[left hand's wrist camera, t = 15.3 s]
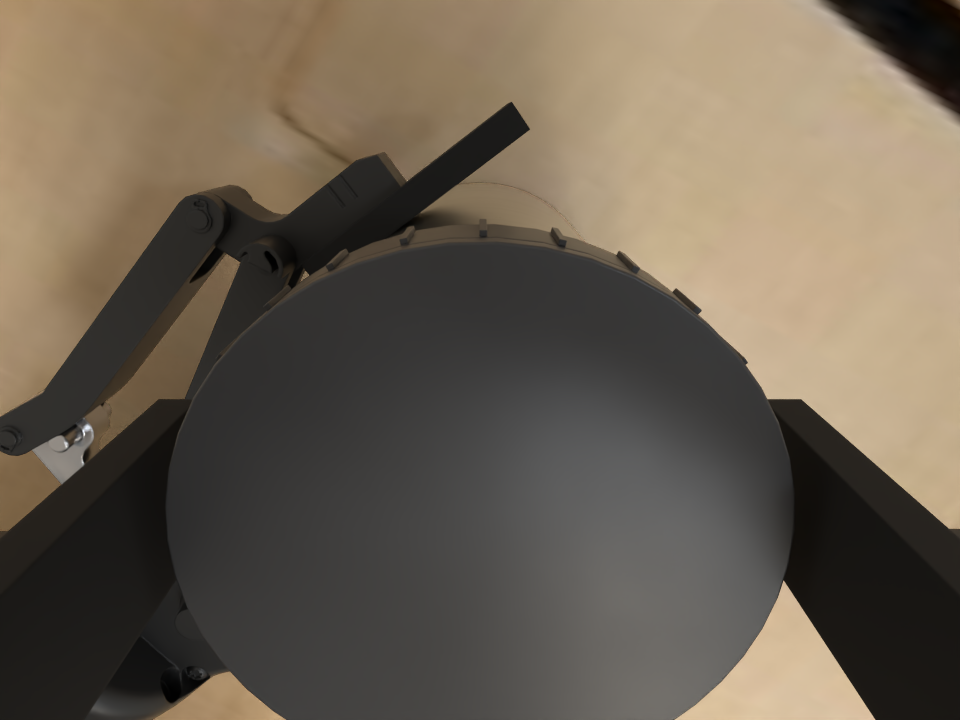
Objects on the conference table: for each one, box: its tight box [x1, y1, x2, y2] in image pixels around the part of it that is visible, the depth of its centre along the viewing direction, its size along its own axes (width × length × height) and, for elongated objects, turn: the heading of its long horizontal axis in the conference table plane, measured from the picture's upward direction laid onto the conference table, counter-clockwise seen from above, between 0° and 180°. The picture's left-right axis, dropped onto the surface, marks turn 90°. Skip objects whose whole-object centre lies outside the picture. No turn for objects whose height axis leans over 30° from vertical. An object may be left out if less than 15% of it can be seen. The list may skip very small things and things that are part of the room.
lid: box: [165, 219, 795, 720], centre depth 11 cm, size 10×10×2 cm
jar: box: [386, 183, 585, 242], centre depth 18 cm, size 9×9×15 cm
